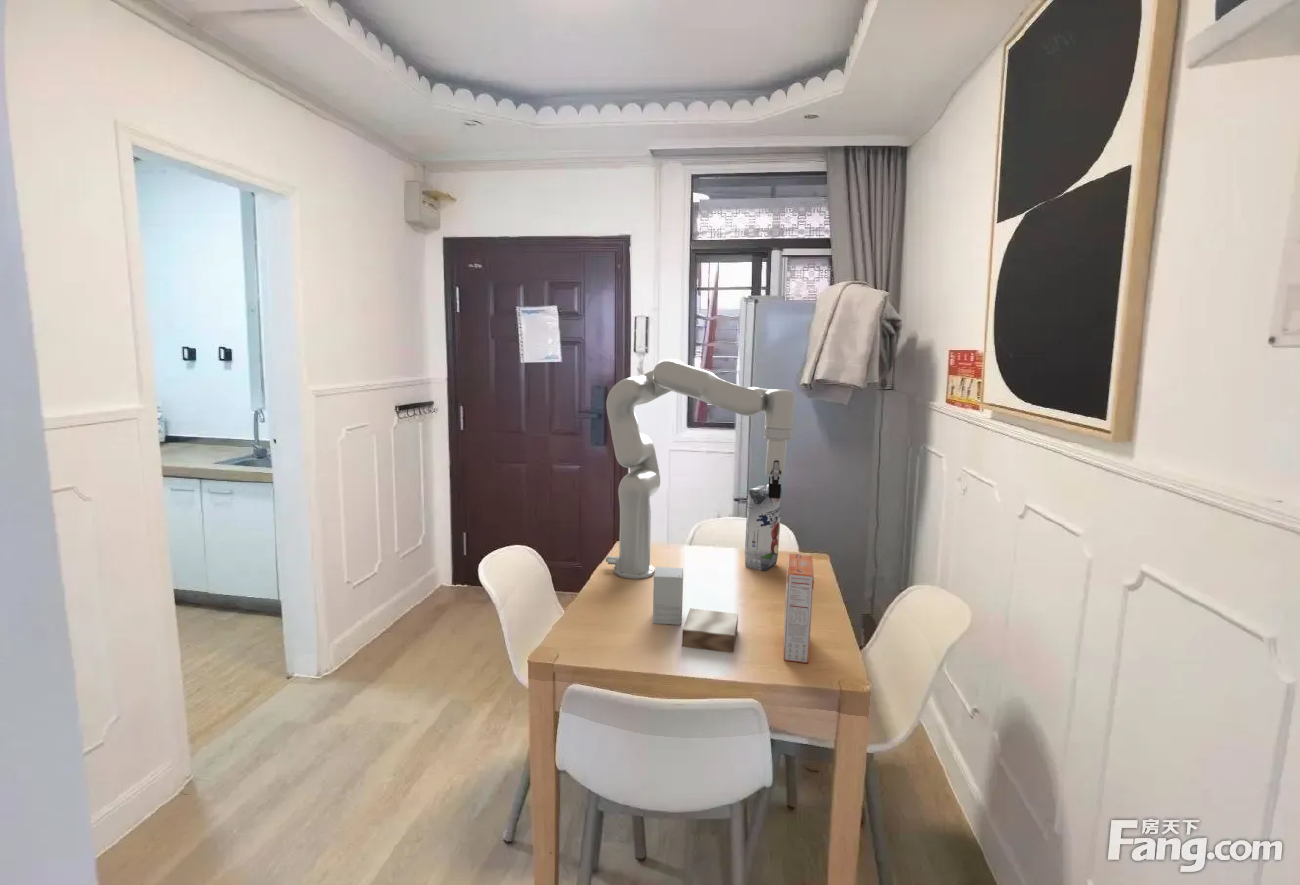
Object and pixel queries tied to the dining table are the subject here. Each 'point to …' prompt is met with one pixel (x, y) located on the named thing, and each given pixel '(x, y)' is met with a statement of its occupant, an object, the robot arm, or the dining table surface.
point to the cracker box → (798, 608)
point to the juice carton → (762, 529)
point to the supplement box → (668, 595)
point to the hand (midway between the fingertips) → (774, 494)
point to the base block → (710, 630)
